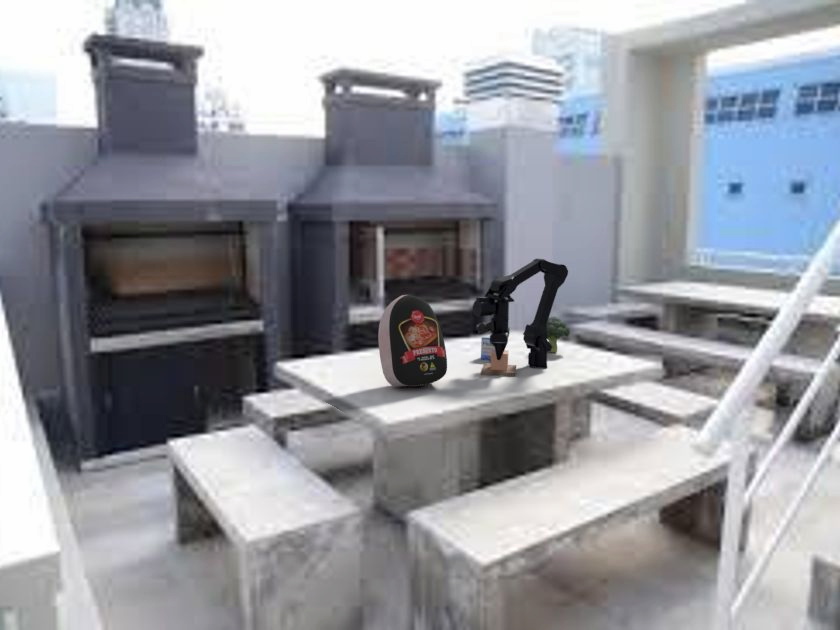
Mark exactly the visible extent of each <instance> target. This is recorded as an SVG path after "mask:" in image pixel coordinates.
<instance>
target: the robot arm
mask: <svg viewBox="0 0 840 630" xmlns="http://www.w3.org/2000/svg"><path fill="white" fill-rule="evenodd" d="M539 273H543V282H544V287H543V291H542V294H541V296H540V300H539V304H538V306H537V309H536V313H535V315H534V318H533V321H532V323H530V324H526V325H525V329H524V331H523V333H522V335H523V341H524V344H525V345H526V348H527V349H529V351H530V352H528V355H527V357H528V358H527V359H528V360H527V362H528V364H527V365H529V368H539V369H541V368H543V369H547V368H548V353H551V352H550V351H551V349H552V345H551V344H550V343H549V340H547V335H548V332H547V327H546V325H547V322H548V318H550V314H551V313H552V308H553V306H554V303H555V302H554V301H555V299H556V296H557V293H558V290H559V289H560V287H561V286H562V285H563V284H564V283H565V282H566V279H567V277H568V275H569V270H568V267H567V266H566V264H563V263H555V262H551V261H548V260H546V259H544V258H535V259H532V261H531V262H529V263H528V264H525V266H523V267H521V268H519V269H518V270H516V271H515V272H513V273H510V274H507V275H504V276H500V277H498V278H494V279H493V280H492V281H491V283H490V286H489V288H488V290H487V292H486V293H485V295H484V296H482V297H480V296H476V299H475V301H474V303H473V304H472V311H473V313H472V314H473V315H474V316H475V317H477V318H478V317H488V316H492V317H491V320H488V321H482V322H480V323H478V324H476V331H477V333H478V335H483V334H485V333H487V332H490V333H491V334H490V335H489V336H490V343H491V344H493V345H494V347H495V351H496V356H497V360H500V359H501V357H502V355H503V352H504V350H506V348H507V345H508V343H509V336H510V327H509V319H510V317H509V316H510V315H509V312H510V303H514V302H515V299H514V298H512V296H511V295H512V294H513V292H515V291H516V290H517V287H518V286H520V285H521V284H522V283H524V282H526V281H527V280H529V279H530V278H532V277H533V276H535V275H537V274H539Z"/></svg>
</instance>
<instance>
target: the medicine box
mask: <svg viewBox="0 0 840 630" xmlns="http://www.w3.org/2000/svg"><path fill="white" fill-rule="evenodd" d="M480 343H481V345H480V359H481V360H488V361H489V360H490V361H491V351H492V350H495V347H494V345H493V344H491V343H490V335H483V336H482V337H481V342H480Z"/></svg>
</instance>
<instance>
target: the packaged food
mask: <svg viewBox="0 0 840 630" xmlns="http://www.w3.org/2000/svg"><path fill="white" fill-rule="evenodd" d="M377 341H378V351H379V358H380V365H381V369H382V373H383V375H384V378H385V380H386V381H387V383H388V384H389V385H391V386H393V387H417V386H426V385H430V384H434V383H435V382H438V381H439V380H441V379H442V378H444V377H445V376H446V374H447V371H448V359H447V358H448V357H447V351H446V350H447V349H446V345H445V340H444V335H443V333H442V329H441V325H440V323H439V320H438V319H437V316H436V314H435V312H434V309H433V308H432V307H431V305H430V303H428V302H427V301H426V300H424V299H422V298H421V297H417V296H416V295H411V294H404V295H403V294H402V295H400V296H398V297H397V298H395V299H394V300H392V301H391V302H390V303H389V304H388V305H387V307H386V308H385V309H384V311H383V313H382V315H381V318H380V320H379V326H378V340H377Z"/></svg>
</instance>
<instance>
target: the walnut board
mask: <svg viewBox="0 0 840 630" xmlns="http://www.w3.org/2000/svg"><path fill="white" fill-rule="evenodd" d="M490 366H491V363H483V365H482V368H481V375H484V376H499V375H504V376H505V377H516V375H517V374H516V373H517V364H508V369H507V371H506V370H490Z"/></svg>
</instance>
